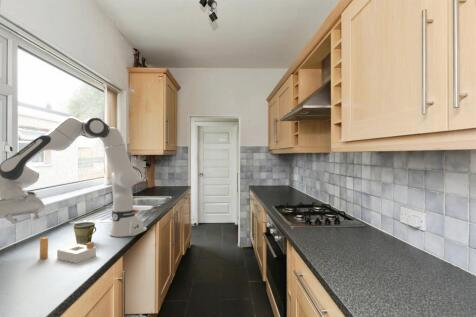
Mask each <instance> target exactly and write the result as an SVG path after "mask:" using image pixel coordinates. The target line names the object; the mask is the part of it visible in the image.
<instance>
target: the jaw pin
mask: <svg viewBox="0 0 476 317" xmlns="http://www.w3.org/2000/svg"><path fill="white" fill-rule="evenodd" d="M48 258H49V237H47V236H43V237H40V239H39V260H47V259H48Z"/></svg>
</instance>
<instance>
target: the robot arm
mask: <svg viewBox="0 0 476 317" xmlns="http://www.w3.org/2000/svg"><path fill="white" fill-rule="evenodd" d="M80 136H83V137H85V138H87V139H97V138H98V139H100V140H101V141H102V143H103V144H102V145H103V147H104V151H105V155H106V159H107V161H108V163H109V165H110V167H111V170H112V173H111V174H110V175H111V176H110V180H111V189H112V190H111V192H112V209H111V210H112V211H111V218H112V219H111V224H110V226H111V227H110V230H109V236H111V237H117V238H119V237H120V238H121V237H122V238H123V237H134V236H136V235H139V234H142V233H144V232H145V231H147V230H148V229H147V227H145V226H144V223H143V222H144V221H143V220H142V219H141V218H140V217H138V216H137V215H136V213H138V212H139V210H138V209H136V208H135V209H134V195H133V190H132V187H134V186H135V185H136V184H137V182H138V176H137V174H136V172H135V170H134V167H133V165H132V162H131V160H130V158H129V155H128V152H127V148H126V145H125V141H124V139H123V136H122V133H121V132H120V130H119V129H118V128H117V127H114V126H112V127H110V126H109V125H108V124H107V123H106V122H105V121H104V120H103V119H101V118H100V117H95V116H94V117H90V118H87V119H86V120H83V121H81V120H80V119H79V118H76V117H74V116H68V117H66V118H65V119H63V120H62V121H61V122H59V123H58V124H57V125H56V126H55V127H53V129H52V130H50V131H49V132H47V133H46V134H43V135H40V136H38V137H36V138H34V139H33V140H32V141H31V142H29V143H28V144H27V145H26V146H24V147H23V148H22V149H20V150H19V151H18V152H16V153H15V154H14V155H12V156H10V157H8V158H6V159H5V160H3V161H2V162H1V163H0V219H6V220H7V221H9V222H11V225H15V224H17V223H18V222H19V220H18V218H15V217H18V216H23V215H25V216H26V215H31V214H33V215H34V216H33V220H34V221H38V220H40V215H39V214H40V213H42V212H43V211H44V209H45V207H46V206H45V203H44V201H43V200H42V198H40V196H38V193H37V192H36V191H29V190H25V189H26V188H28V187H31V186H33V185H34V184H35V183H36V182H38V180H39V178H40V173H39V170H38V169H36V168H35V167H33V166H31V165H29V164H28V163H29V162H30V161H32V160H33V159H34V158H35V157H36V156H38V155H39V154H40V153H42V152H44V151H55V152H59V151H60V152H61V151H64V150H67V149H68V148H69V147H70V146H71V145H72V144H73V143H74V142H75V141H76V140H77V138H79V137H80Z"/></svg>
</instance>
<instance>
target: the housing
mask: <svg viewBox="0 0 476 317" xmlns="http://www.w3.org/2000/svg"><path fill="white" fill-rule="evenodd" d="M56 256H57V257H56V258H57V260H60V261H64V260H65V261H64V262H68V261H69V262H70V263H74V264H79V263H81V262H84V261H86V260H88V259H89V260H90V259H91V257H92V258H94V257H96V256H97V247H96V246H94V242H93V241H91V242H89V243H87V244H86V245H82V244H77V243H75V244H72V245H68V246H66V247H65V246H64V247H63V248H59V249H57V254H56ZM69 262H68V263H69Z"/></svg>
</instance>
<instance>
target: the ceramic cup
mask: <svg viewBox="0 0 476 317" xmlns="http://www.w3.org/2000/svg"><path fill="white" fill-rule="evenodd" d="M95 225H96V223H95V222H92V221H84V222H83V221H82V222H78V223H74V224H73V232H74V234H75V240H76V244H82V245H85V244H86V245H87V243H89V242H92V238H93V235H94V233H95V232H96V231H97V228H96V226H95Z"/></svg>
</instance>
